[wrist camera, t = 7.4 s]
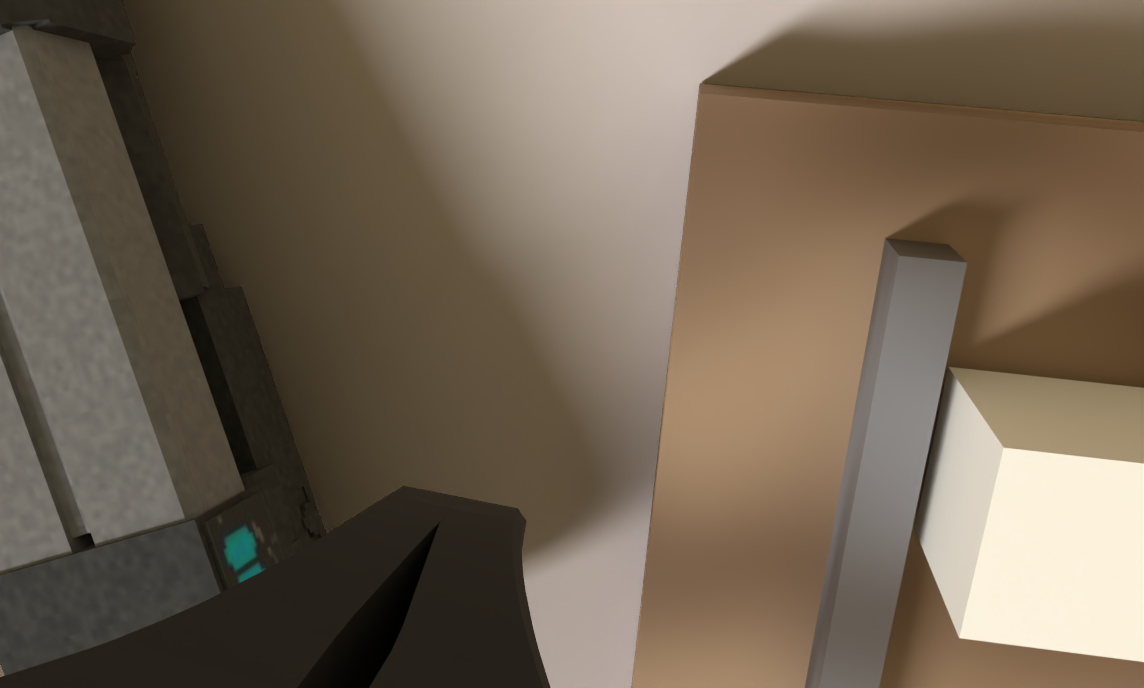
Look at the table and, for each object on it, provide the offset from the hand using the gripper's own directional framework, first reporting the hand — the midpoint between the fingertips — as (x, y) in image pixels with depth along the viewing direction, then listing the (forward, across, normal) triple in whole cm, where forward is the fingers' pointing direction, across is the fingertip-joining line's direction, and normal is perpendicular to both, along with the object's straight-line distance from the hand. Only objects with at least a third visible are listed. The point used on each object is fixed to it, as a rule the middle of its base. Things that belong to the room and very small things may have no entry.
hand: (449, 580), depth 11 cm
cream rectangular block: (+7, -9, 0) cm, 12 cm away
